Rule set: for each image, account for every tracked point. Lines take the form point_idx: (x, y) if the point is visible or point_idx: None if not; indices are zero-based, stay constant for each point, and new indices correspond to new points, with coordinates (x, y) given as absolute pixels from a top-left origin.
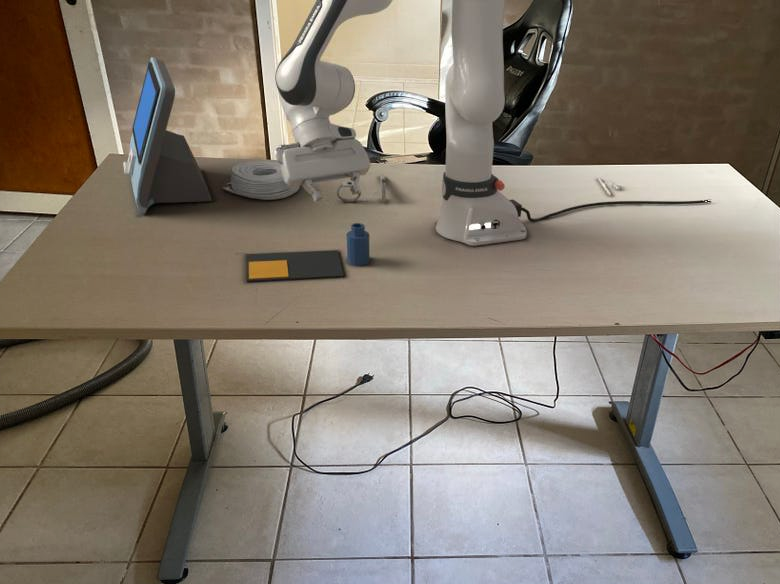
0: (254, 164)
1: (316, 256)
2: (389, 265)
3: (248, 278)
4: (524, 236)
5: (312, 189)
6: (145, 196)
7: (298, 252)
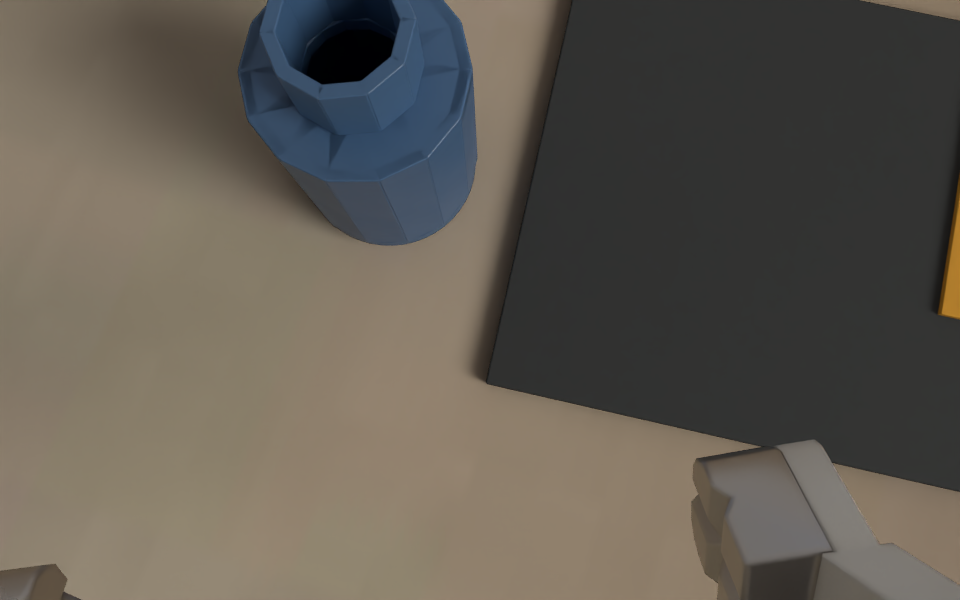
0: None
1: (689, 318)
2: (197, 26)
3: None
4: None
5: (919, 569)
6: None
7: None
